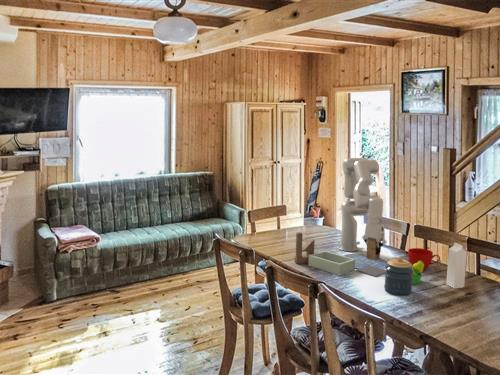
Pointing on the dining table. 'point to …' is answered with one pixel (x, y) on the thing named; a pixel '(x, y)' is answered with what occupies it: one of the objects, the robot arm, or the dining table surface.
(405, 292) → the canister
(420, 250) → the ceramic cup
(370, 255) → the walnut block
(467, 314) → the dining table surface
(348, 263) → the box
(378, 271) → the felt pad
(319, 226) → the dining table surface
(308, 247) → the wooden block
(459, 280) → the milk
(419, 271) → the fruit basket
